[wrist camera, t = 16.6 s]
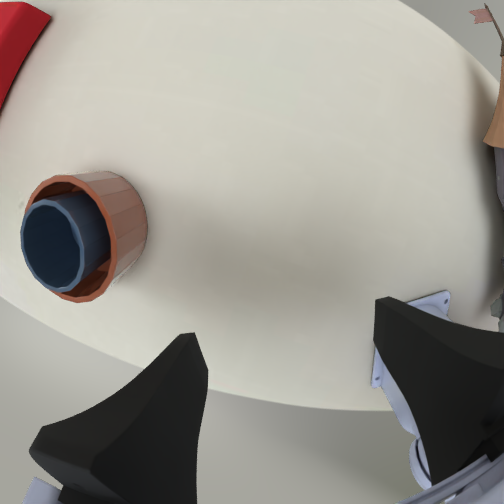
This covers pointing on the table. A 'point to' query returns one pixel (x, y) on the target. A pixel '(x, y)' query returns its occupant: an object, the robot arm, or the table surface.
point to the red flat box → (17, 38)
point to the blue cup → (64, 240)
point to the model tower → (496, 146)
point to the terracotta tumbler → (117, 219)
